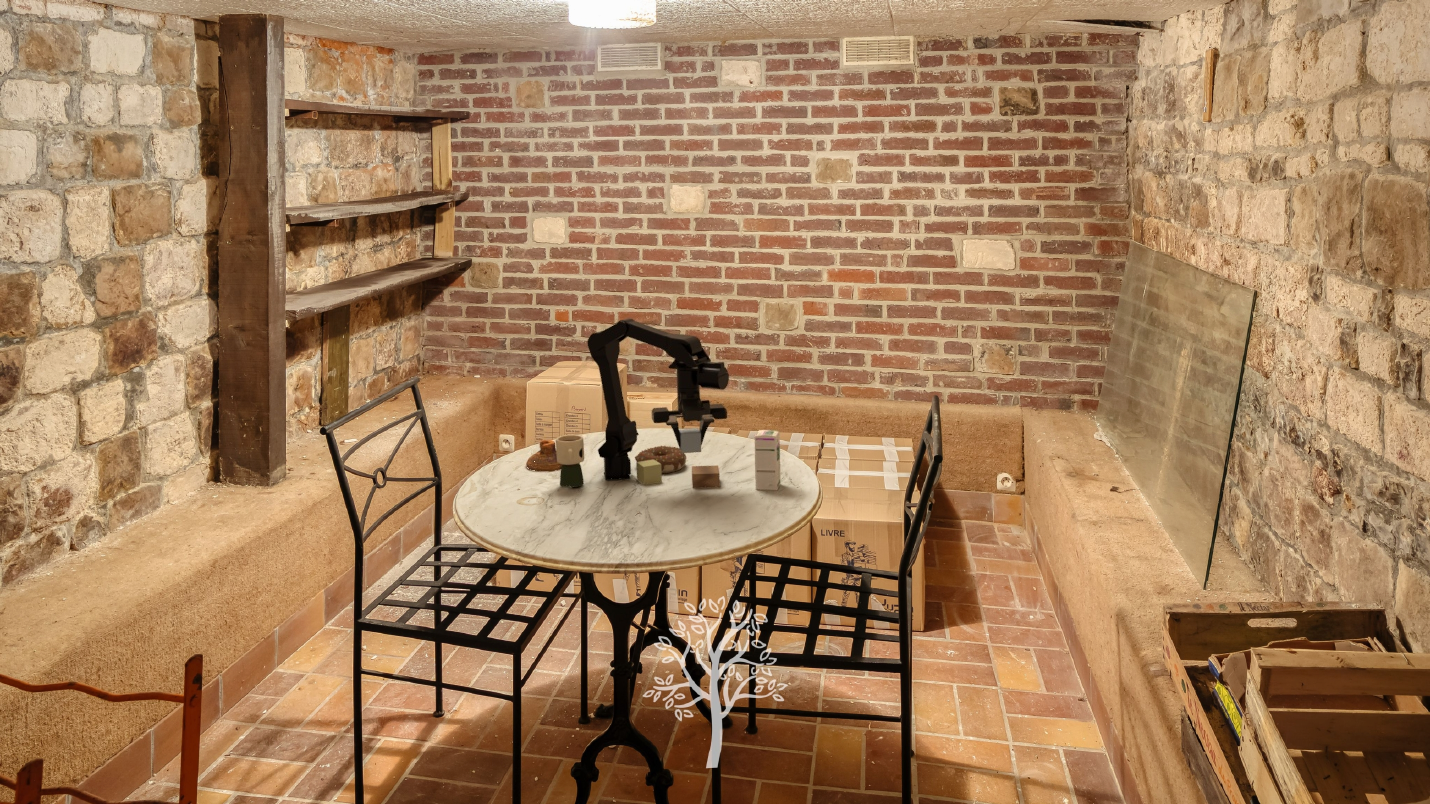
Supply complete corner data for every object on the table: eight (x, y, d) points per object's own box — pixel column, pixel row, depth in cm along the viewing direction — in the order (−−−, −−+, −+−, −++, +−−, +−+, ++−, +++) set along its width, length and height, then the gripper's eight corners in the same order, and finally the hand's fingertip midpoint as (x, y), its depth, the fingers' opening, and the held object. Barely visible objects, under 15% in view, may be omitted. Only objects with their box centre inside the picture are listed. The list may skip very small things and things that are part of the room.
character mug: (586, 491, 259) (583, 442, 256) (558, 493, 258) (555, 444, 255) (585, 479, 269) (582, 432, 266) (558, 480, 268) (555, 433, 265)
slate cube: (681, 453, 255) (681, 434, 254) (679, 448, 260) (678, 429, 259) (701, 452, 256) (700, 432, 255) (698, 446, 261) (697, 428, 260)
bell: (565, 472, 276) (564, 446, 275) (522, 472, 277) (520, 447, 275) (572, 460, 288) (571, 435, 286) (530, 460, 288) (529, 436, 286)
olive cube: (644, 485, 264) (643, 466, 263) (637, 480, 268) (636, 462, 267) (661, 482, 266) (661, 464, 265) (654, 477, 270) (653, 459, 269)
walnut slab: (692, 488, 260) (692, 474, 260) (692, 480, 267) (691, 466, 266) (719, 488, 261) (719, 473, 260) (718, 479, 268) (718, 465, 267)
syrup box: (777, 490, 257) (777, 435, 254) (754, 489, 258) (754, 435, 255) (780, 484, 262) (780, 430, 259) (758, 482, 263) (757, 429, 260)
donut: (689, 461, 285) (688, 444, 284) (683, 475, 271) (682, 457, 270) (639, 460, 286) (638, 443, 285) (630, 475, 273) (630, 457, 272)
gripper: (655, 395, 245) (657, 457, 249) (730, 390, 248) (731, 451, 252) (650, 386, 256) (652, 445, 259) (722, 381, 259) (723, 440, 262)
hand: (690, 446), depth 258 cm, fingers closed on slate cube, 5 cm apart
